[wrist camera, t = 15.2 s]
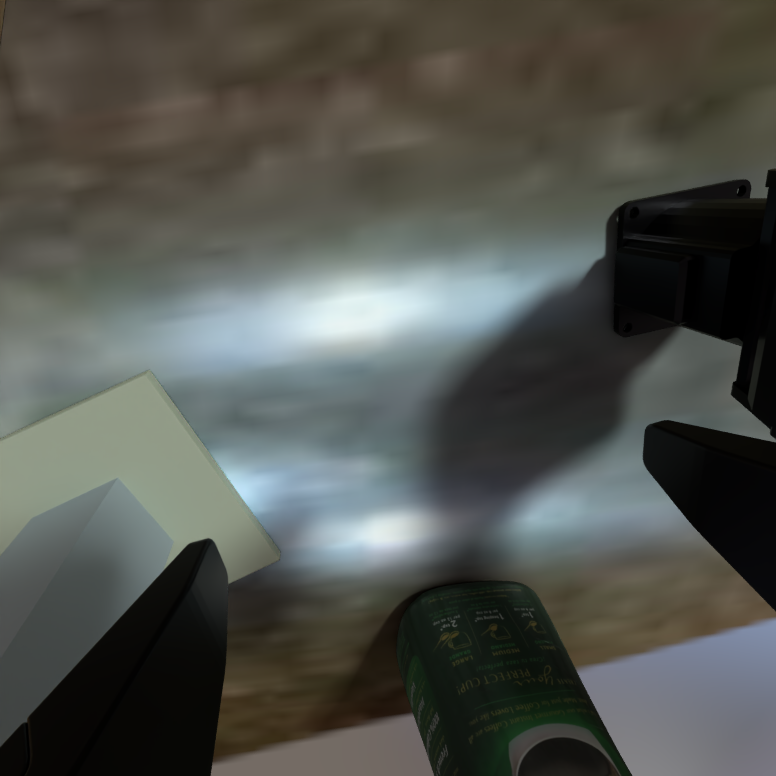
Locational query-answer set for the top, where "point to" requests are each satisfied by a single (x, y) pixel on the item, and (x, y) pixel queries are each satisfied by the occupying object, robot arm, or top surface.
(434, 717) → the coffee jar
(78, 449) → the mat
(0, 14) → the pocket
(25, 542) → the post
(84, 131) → the top surface
